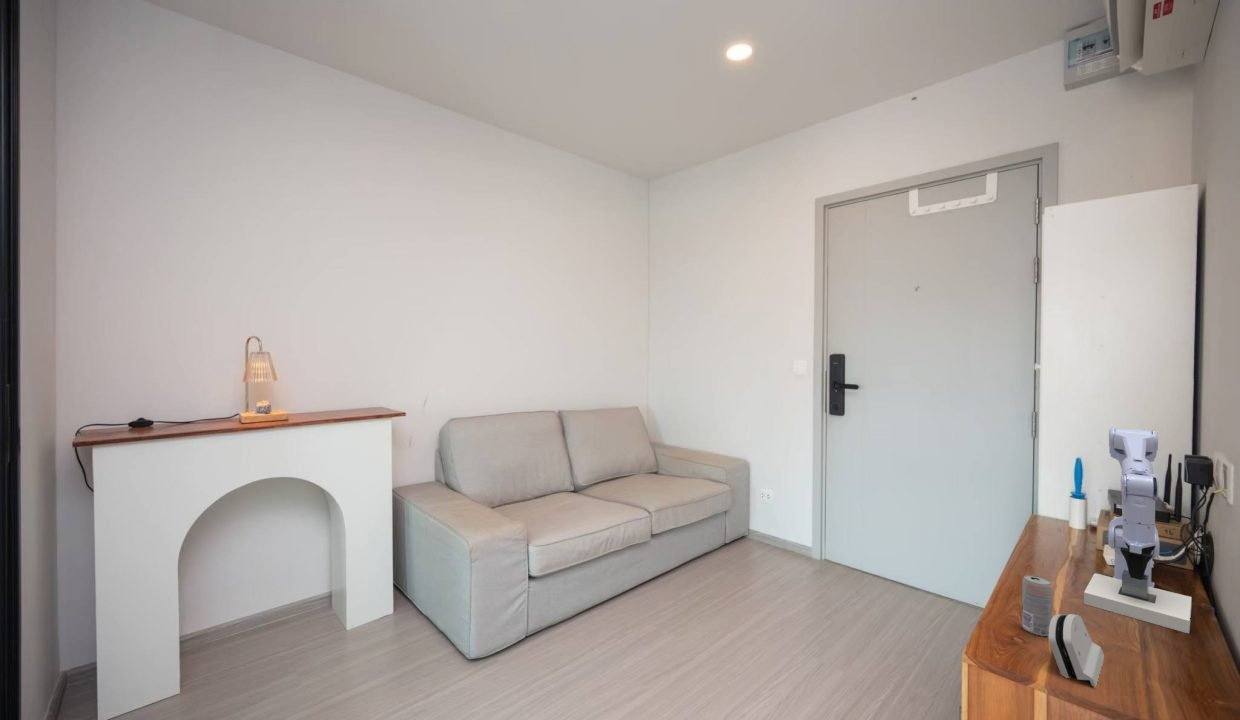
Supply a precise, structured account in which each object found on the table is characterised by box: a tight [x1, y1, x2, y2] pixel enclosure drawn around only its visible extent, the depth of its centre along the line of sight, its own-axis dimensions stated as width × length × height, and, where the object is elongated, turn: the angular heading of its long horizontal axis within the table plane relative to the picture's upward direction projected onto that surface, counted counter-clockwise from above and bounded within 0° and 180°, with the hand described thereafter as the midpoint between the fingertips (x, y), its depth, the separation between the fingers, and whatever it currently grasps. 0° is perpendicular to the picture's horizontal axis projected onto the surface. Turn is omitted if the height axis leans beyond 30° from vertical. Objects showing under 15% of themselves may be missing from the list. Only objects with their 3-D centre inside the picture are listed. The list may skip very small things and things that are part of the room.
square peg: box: [1122, 570, 1149, 602], centre depth 128 cm, size 4×4×8 cm
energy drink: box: [1021, 574, 1053, 637], centre depth 116 cm, size 5×5×12 cm
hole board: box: [1083, 572, 1192, 634], centre depth 128 cm, size 18×18×3 cm
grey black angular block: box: [1048, 613, 1105, 687], centre depth 104 cm, size 17×5×10 cm, turn 132°
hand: (1137, 574), depth 128 cm, fingers open, 7 cm apart
